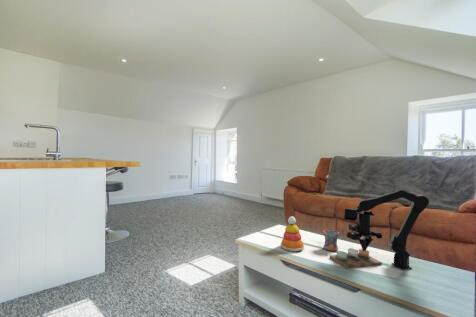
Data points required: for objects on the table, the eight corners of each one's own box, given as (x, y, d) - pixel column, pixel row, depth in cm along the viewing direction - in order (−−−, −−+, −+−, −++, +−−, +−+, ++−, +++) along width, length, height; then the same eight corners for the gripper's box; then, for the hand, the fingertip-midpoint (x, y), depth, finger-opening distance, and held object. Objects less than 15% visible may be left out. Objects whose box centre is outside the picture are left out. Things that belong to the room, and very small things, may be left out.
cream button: (353, 252, 131) (353, 248, 131) (360, 256, 126) (360, 251, 126) (346, 253, 130) (346, 248, 130) (352, 256, 125) (352, 252, 125)
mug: (336, 253, 137) (336, 235, 137) (320, 249, 143) (320, 232, 143) (342, 247, 147) (342, 231, 147) (327, 244, 152) (327, 228, 153)
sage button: (342, 255, 130) (342, 250, 130) (349, 259, 125) (349, 254, 125) (335, 255, 128) (335, 251, 128) (341, 259, 123) (341, 255, 123)
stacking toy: (309, 249, 142) (309, 217, 142) (293, 254, 134) (293, 220, 134) (291, 242, 154) (292, 213, 154) (275, 246, 146) (276, 215, 146)
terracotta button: (364, 252, 133) (364, 248, 133) (371, 256, 128) (371, 251, 128) (356, 253, 132) (356, 249, 132) (363, 257, 127) (363, 252, 127)
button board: (362, 255, 136) (363, 251, 136) (381, 265, 123) (381, 261, 123) (329, 258, 130) (329, 254, 130) (345, 268, 118) (345, 264, 118)
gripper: (367, 218, 140) (366, 244, 140) (340, 219, 136) (339, 246, 135) (383, 223, 129) (382, 251, 129) (354, 224, 125) (353, 253, 125)
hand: (364, 250), depth 130 cm, fingers closed, pressing on terracotta button
